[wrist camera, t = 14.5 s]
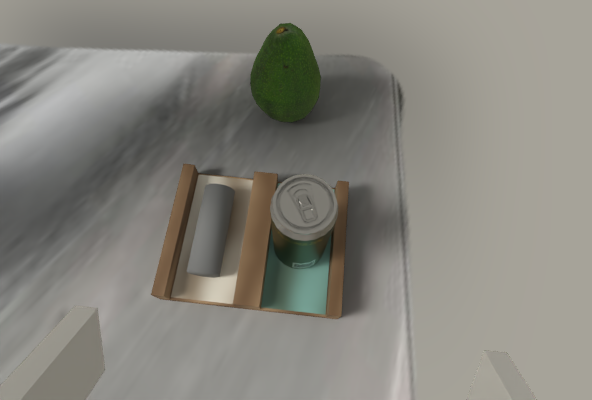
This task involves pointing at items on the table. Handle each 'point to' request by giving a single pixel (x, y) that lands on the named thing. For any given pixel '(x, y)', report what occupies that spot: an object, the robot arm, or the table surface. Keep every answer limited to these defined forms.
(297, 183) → the beer can
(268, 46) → the avocado
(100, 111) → the table surface
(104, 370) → the robot arm
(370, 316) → the table surface
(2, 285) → the table surface
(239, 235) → the caddy
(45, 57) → the table surface
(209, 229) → the smooth gray cylinder
